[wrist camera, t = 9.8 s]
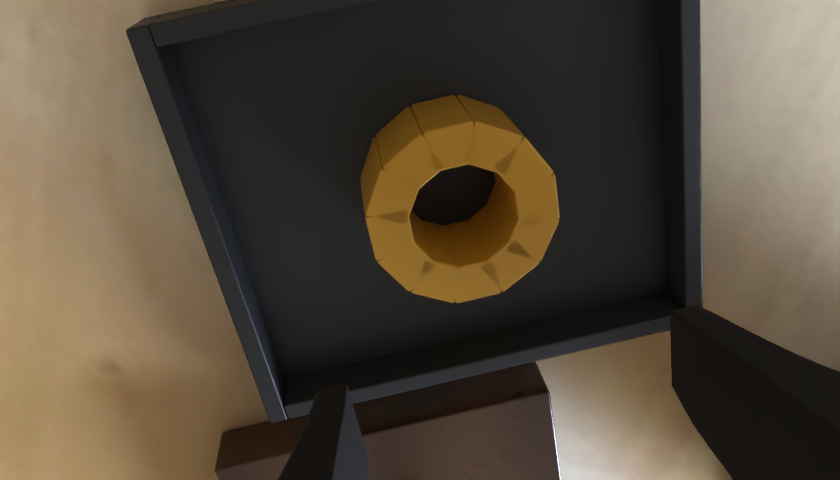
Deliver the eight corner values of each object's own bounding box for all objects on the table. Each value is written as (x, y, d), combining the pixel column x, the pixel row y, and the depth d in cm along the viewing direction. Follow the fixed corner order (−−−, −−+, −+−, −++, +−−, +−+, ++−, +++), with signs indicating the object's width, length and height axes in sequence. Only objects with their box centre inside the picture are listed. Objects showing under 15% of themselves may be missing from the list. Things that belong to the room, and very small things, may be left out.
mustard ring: (519, 79, 21) (547, 104, 18) (539, 236, 24) (566, 278, 21) (344, 117, 21) (347, 148, 18) (382, 272, 23) (390, 319, 21)
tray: (666, -95, 20) (700, -95, 18) (677, 294, 26) (703, 323, 24) (142, 18, 20) (124, 29, 18) (274, 387, 25) (270, 424, 24)
